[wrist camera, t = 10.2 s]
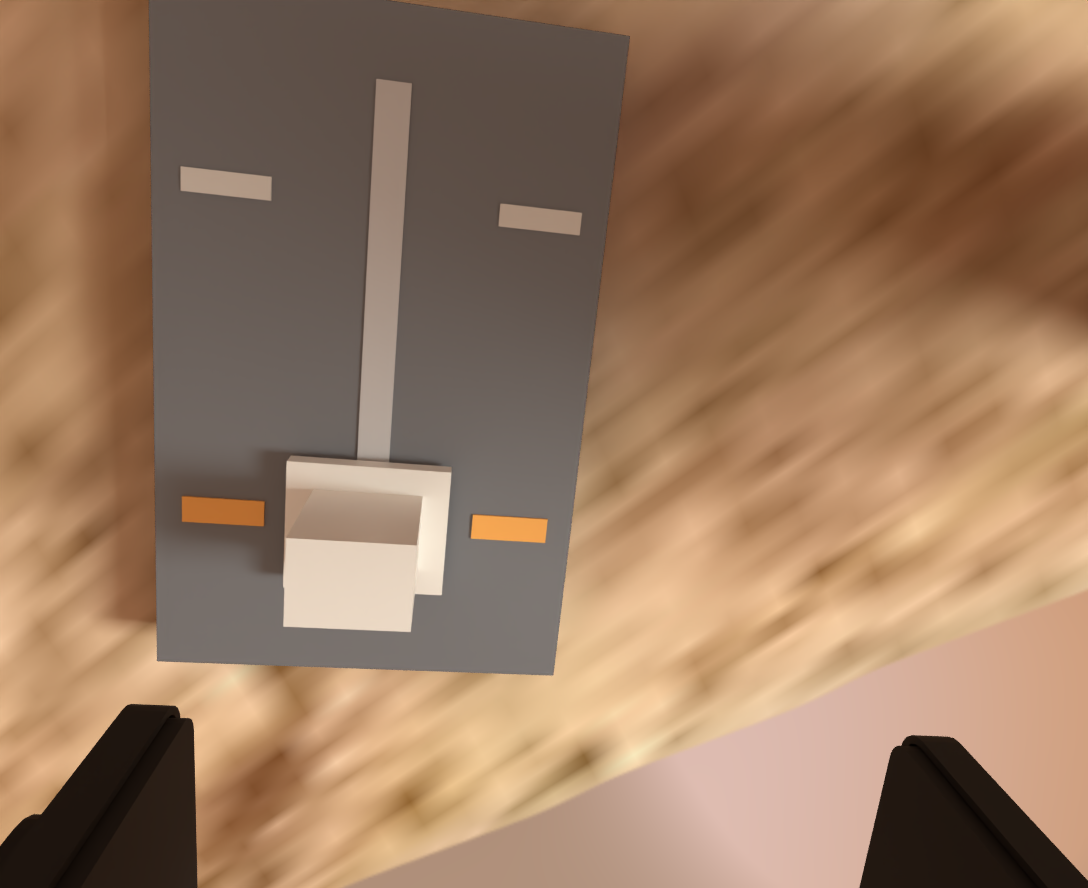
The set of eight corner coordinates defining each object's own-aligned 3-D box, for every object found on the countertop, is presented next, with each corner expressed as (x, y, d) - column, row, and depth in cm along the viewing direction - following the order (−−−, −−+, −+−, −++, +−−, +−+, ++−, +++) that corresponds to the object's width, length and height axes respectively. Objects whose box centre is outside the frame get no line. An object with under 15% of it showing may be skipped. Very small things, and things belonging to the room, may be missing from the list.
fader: (451, 466, 30) (451, 517, 25) (442, 586, 31) (439, 661, 26) (290, 455, 29) (252, 505, 24) (287, 579, 31) (250, 653, 25)
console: (613, 55, 30) (630, 35, 27) (545, 641, 36) (553, 676, 33) (179, -7, 28) (147, -36, 25) (182, 625, 34) (156, 662, 31)
